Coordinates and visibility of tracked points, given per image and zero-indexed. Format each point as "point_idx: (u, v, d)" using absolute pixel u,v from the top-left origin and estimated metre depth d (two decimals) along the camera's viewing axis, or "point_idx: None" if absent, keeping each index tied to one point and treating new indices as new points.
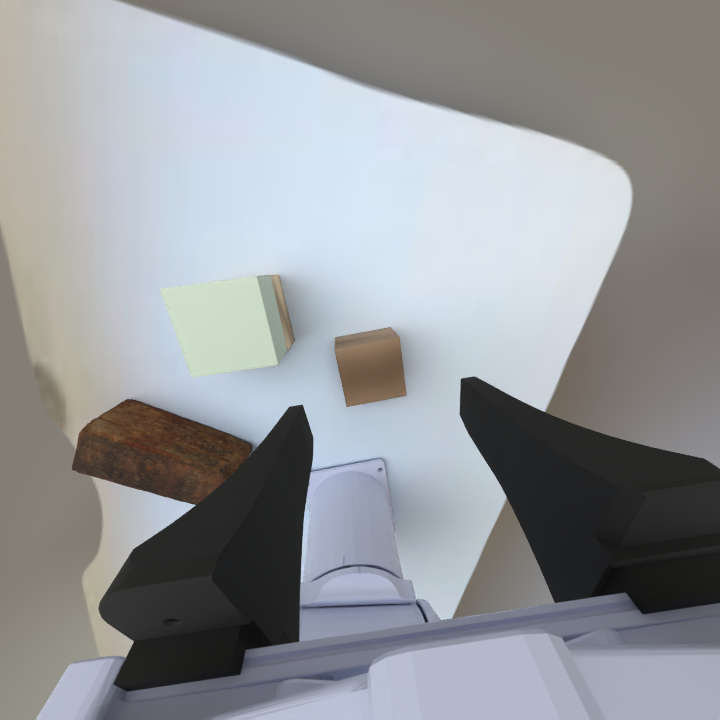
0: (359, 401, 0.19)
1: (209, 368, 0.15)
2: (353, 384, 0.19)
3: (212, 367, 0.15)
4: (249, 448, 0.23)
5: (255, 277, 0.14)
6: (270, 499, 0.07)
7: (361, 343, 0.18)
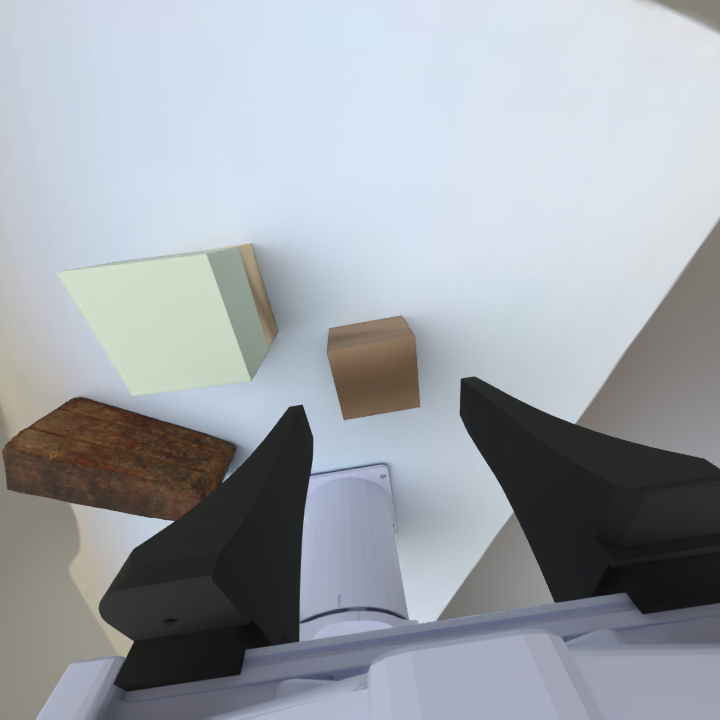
0: (360, 413, 0.15)
1: (154, 385, 0.11)
2: (352, 394, 0.15)
3: (158, 383, 0.11)
4: (231, 451, 0.19)
5: (204, 256, 0.09)
6: (270, 499, 0.07)
7: (363, 342, 0.14)
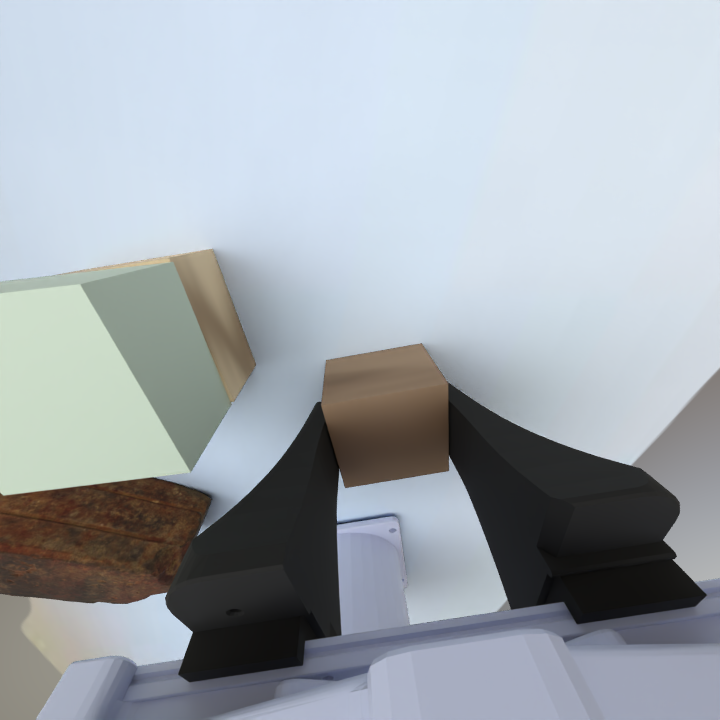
0: (367, 480, 0.11)
1: (36, 480, 0.07)
2: (357, 457, 0.11)
3: (42, 478, 0.07)
4: (204, 506, 0.15)
5: (77, 288, 0.05)
6: (314, 492, 0.07)
7: (372, 391, 0.09)
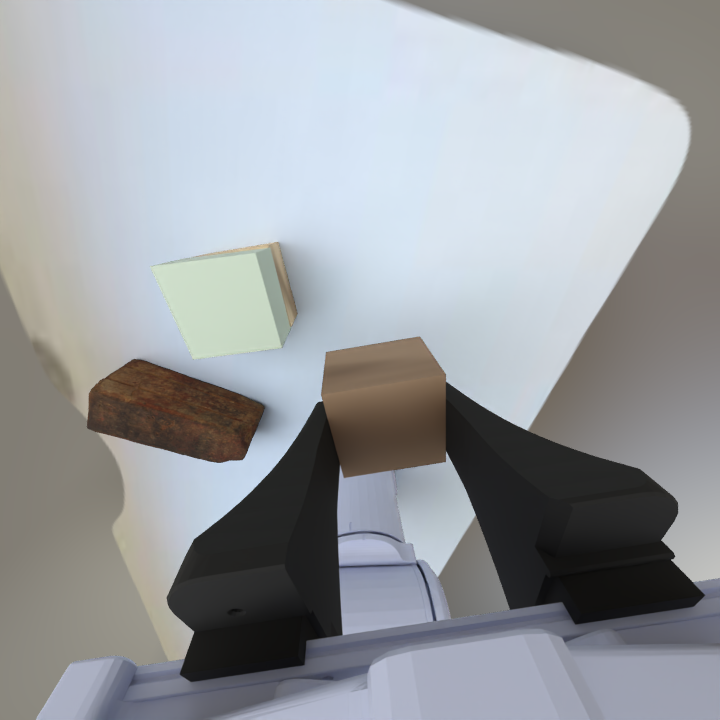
0: (365, 470, 0.11)
1: (210, 350, 0.15)
2: (356, 447, 0.11)
3: (213, 349, 0.15)
4: (261, 408, 0.23)
5: (254, 254, 0.12)
6: (315, 492, 0.07)
7: (371, 382, 0.10)
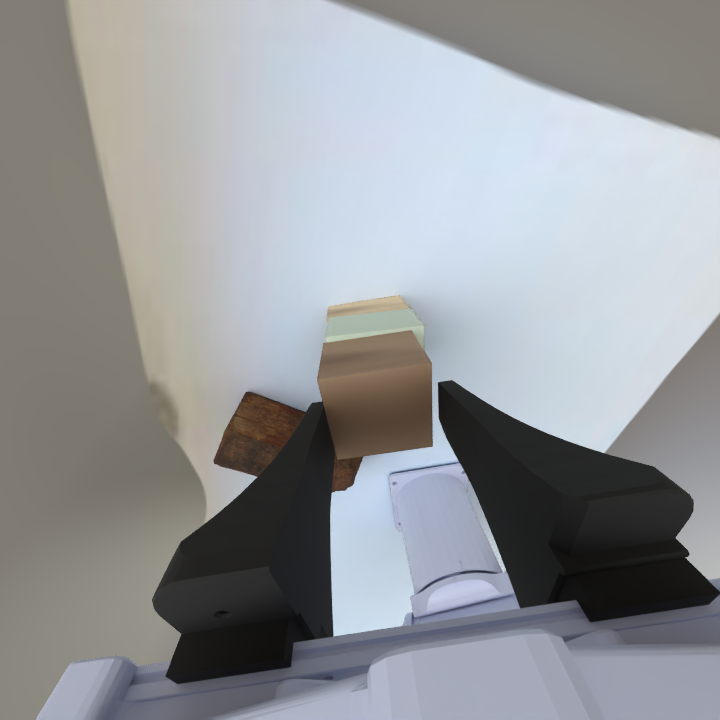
0: (357, 453, 0.12)
1: None
2: (349, 430, 0.12)
3: None
4: None
5: (422, 326, 0.13)
6: (306, 493, 0.07)
7: (364, 369, 0.11)
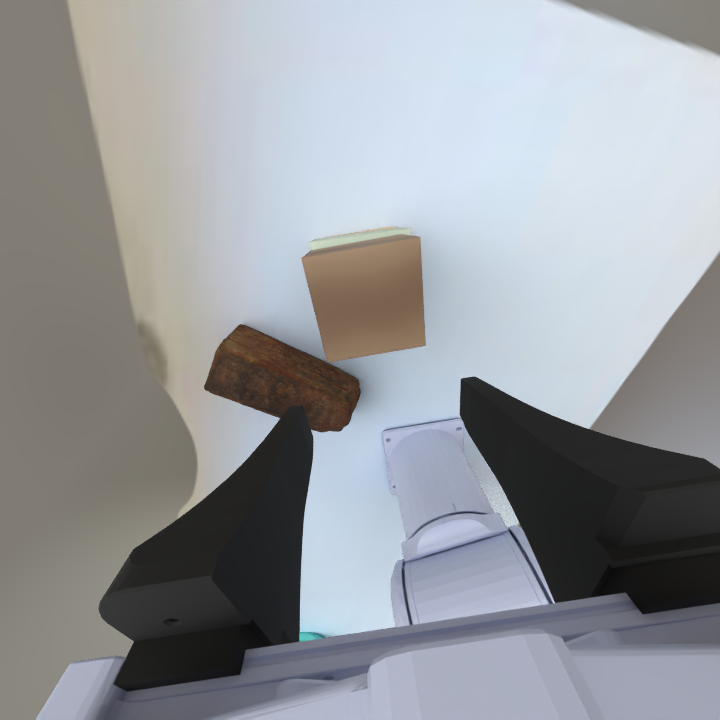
0: (347, 353, 0.12)
1: None
2: (338, 324, 0.11)
3: None
4: (357, 381, 0.22)
5: (410, 229, 0.13)
6: (270, 499, 0.07)
7: (350, 248, 0.10)
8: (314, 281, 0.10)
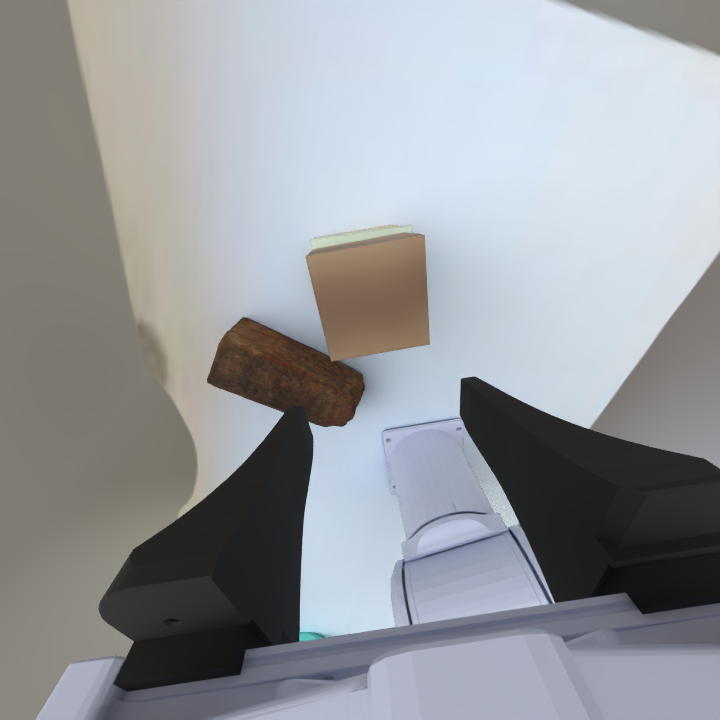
0: (351, 352, 0.12)
1: None
2: (342, 323, 0.11)
3: None
4: (361, 376, 0.22)
5: (411, 227, 0.13)
6: (270, 499, 0.07)
7: (354, 246, 0.10)
8: (318, 280, 0.10)
